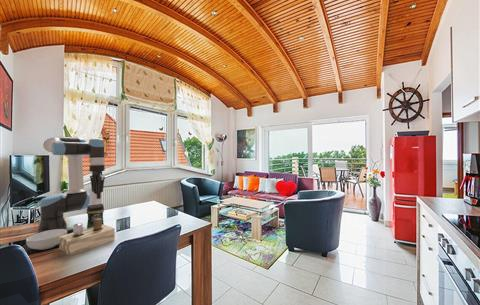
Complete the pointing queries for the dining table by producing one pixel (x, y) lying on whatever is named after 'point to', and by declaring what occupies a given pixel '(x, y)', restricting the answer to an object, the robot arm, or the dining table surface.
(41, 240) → the cereal bowl
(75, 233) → the metal peg
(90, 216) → the coffee jar
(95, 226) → the walnut peg
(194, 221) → the dining table surface
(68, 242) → the birch block
